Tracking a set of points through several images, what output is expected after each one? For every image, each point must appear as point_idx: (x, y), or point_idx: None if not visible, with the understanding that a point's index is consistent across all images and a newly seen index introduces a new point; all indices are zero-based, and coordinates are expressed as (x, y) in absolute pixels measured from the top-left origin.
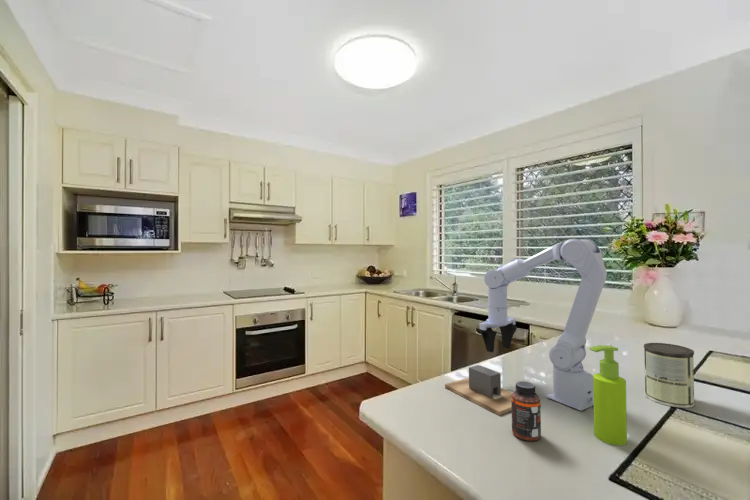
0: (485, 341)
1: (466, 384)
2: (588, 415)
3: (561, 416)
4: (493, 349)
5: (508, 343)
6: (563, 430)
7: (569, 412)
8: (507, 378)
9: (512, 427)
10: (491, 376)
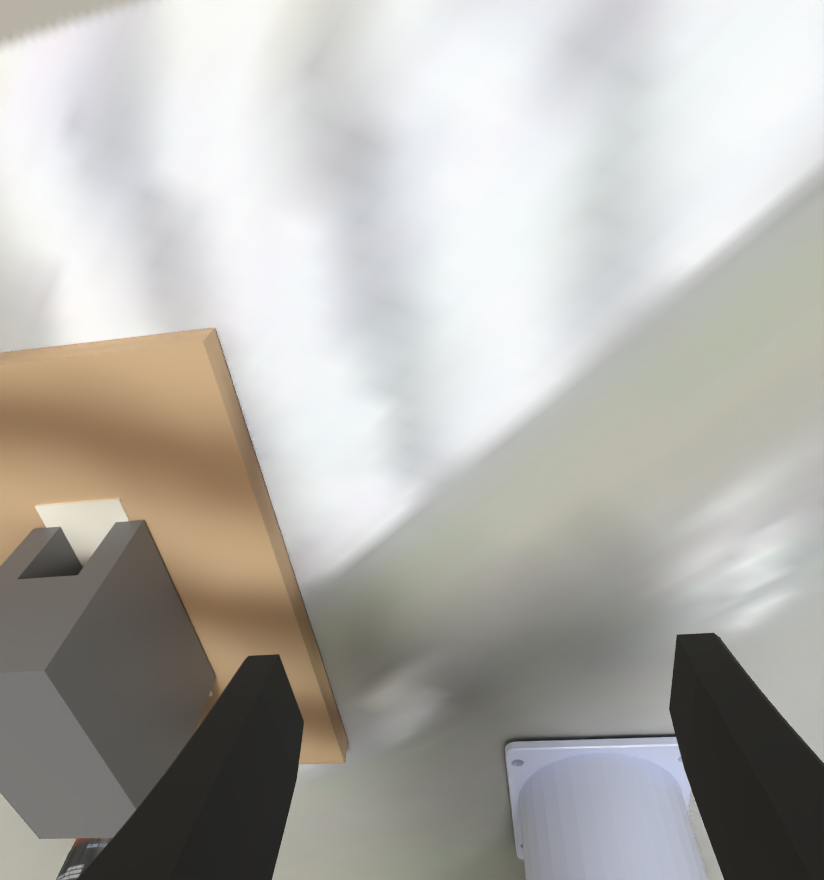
0: (160, 820)
1: (40, 466)
2: (513, 866)
3: (390, 836)
4: (289, 773)
5: (699, 802)
6: (300, 874)
7: (461, 834)
8: (560, 444)
9: (64, 862)
10: (52, 833)
